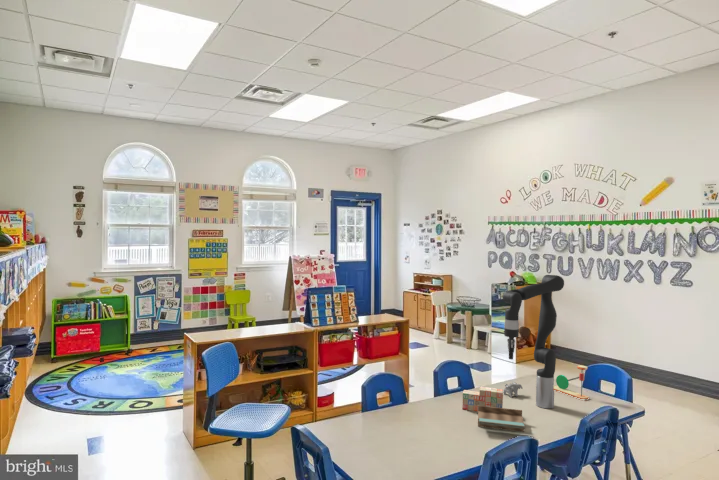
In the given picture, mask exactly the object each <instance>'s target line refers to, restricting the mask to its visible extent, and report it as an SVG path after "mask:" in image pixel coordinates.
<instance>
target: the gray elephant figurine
mask: <svg viewBox="0 0 719 480" xmlns="http://www.w3.org/2000/svg"><path fill="white" fill-rule="evenodd" d="M504 387H505V388H504V389H503V395H506V394H508V395H509V398H513V394H514V396H515V397H518V396H519V395H518V390H520V389H521V390H524V389H523V386H522V384H519V383H517V382H515V381H512V382H511V383H509V384H507V383H505V384H504Z"/></svg>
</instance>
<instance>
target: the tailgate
mask: <svg viewBox="0 0 719 480" xmlns="http://www.w3.org/2000/svg"><path fill="white" fill-rule="evenodd" d="M479 424H486V425H494V426H503V427H512V428H520V429H524V430H525V429H526V428H525V427H526V425H525V423H524V424H523V423H519V422H510V421H501V420H492V419H484V418H479Z"/></svg>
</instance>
